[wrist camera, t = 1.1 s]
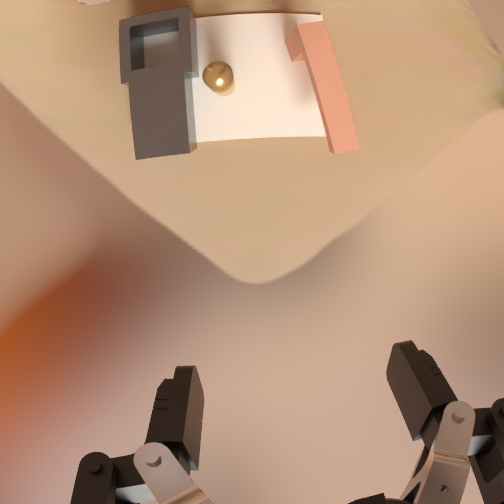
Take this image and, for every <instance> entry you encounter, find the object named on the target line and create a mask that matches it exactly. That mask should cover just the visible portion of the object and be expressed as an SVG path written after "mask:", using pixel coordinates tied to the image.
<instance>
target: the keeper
mask: <svg viewBox="0 0 504 504" xmlns="http://www.w3.org/2000/svg"><path fill="white" fill-rule="evenodd" d="M285 44H286V47H287V50H288V53H289V56H290V59H291V62H294V61H299V60H305V63H306V66H307V70H308V73H309V76H310V79H311V83H312V86H313V89H314V93H315V96H316V100H317V103H318V107H319V111H320V114H321V118H322V122H323V125H324V129H325V133H326V137H327V141H328V145H329V149H330V152H331V153H333V154H337V153H341V152H345V151H349V150H354V149H358V148H359V144H358V140H357V136H356V131H355V127H354V123H353V119H352V115H351V111H350V107H349V103H348V99H347V95H346V92H345V88H344V85H343V81H342V78H341V74H340V71H339V68H338V64H337V61H336V58H335V55H334V52H333V48H332V45H331V42H330V39H329V36H328V34H327V31H326V28H325V25H324V22H323V21H316V22H309V23H303V24H297V25H296V26H295V28H294V29H293V31H292V32H291V34H290V36H289V37H288V39H287V40H286V42H285Z"/></svg>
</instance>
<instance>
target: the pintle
mask: <svg viewBox="0 0 504 504" xmlns="http://www.w3.org/2000/svg"><path fill="white" fill-rule="evenodd" d="M202 78H203V81H204V83H205V84H206V85H207V86H208V87H209V88H210V89H211V90H212V91H213V92H215V93H216V94H217V95H219V96H228V95H230V94H231V93H232V92H233V91H234V89H235V81H234V76H233V71H232V68H231V67H230V66H229V65H228V64H227V63H225V62H222V61H214V62H211V63H209V64H208V65H207V66H206V67H205V68H204V70H203V73H202Z"/></svg>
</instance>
